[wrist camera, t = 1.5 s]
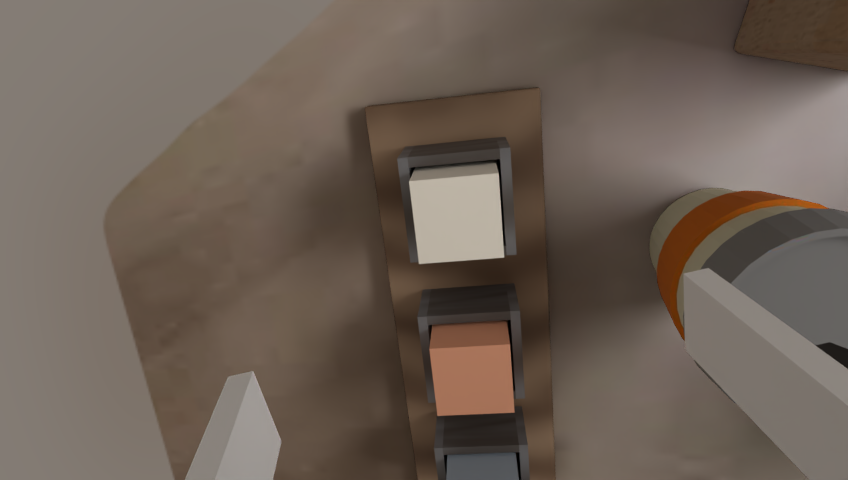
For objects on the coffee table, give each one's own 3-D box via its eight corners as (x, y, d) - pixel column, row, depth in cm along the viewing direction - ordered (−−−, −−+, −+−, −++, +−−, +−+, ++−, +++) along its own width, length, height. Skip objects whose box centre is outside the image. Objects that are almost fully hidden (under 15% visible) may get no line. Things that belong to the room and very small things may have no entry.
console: (368, 105, 42) (350, 114, 35) (537, 87, 40) (550, 93, 34) (422, 492, 54) (416, 548, 47) (554, 488, 52) (565, 546, 46)
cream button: (416, 165, 38) (409, 181, 34) (494, 158, 38) (498, 173, 33) (424, 239, 40) (419, 264, 35) (499, 233, 39) (504, 257, 35)
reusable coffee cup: (668, 143, 41) (775, 190, 27) (821, 194, 41) (1006, 267, 27) (601, 285, 45) (662, 391, 31) (740, 330, 45) (863, 455, 31)
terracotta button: (433, 315, 42) (429, 348, 37) (505, 311, 41) (509, 344, 37) (440, 377, 44) (437, 415, 39) (509, 373, 43) (514, 412, 38)
